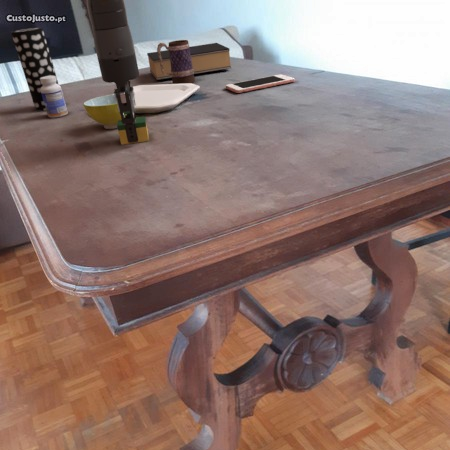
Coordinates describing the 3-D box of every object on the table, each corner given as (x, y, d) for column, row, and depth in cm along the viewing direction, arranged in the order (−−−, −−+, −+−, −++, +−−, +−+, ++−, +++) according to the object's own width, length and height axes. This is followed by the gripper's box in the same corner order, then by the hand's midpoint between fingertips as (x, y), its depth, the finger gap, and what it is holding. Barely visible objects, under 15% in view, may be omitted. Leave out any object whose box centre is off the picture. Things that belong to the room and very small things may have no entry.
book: (150, 73, 167) (146, 53, 163) (218, 63, 171) (216, 42, 167) (157, 82, 153) (153, 60, 149) (231, 70, 157) (229, 48, 153)
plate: (129, 93, 144) (127, 85, 143) (205, 90, 136) (204, 82, 135) (87, 116, 125) (84, 108, 124) (172, 115, 118) (170, 106, 116)
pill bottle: (49, 114, 132) (38, 76, 126) (69, 111, 132) (58, 73, 127) (47, 119, 127) (35, 80, 122) (67, 116, 128) (56, 77, 122)
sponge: (121, 144, 102) (116, 126, 100) (121, 138, 105) (117, 120, 103) (148, 140, 102) (145, 121, 100) (148, 134, 106) (144, 116, 104)
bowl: (109, 118, 121) (103, 93, 118) (146, 120, 116) (141, 93, 113) (80, 132, 113) (73, 105, 110) (119, 134, 108) (112, 106, 105)
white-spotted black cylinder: (32, 112, 136) (6, 33, 124) (40, 105, 143) (16, 29, 131) (60, 109, 136) (37, 29, 124) (67, 102, 143) (46, 26, 131)
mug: (192, 79, 151) (187, 37, 144) (197, 83, 146) (191, 39, 139) (161, 84, 150) (154, 42, 143) (164, 88, 144) (157, 44, 137)
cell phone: (295, 81, 133) (295, 78, 133) (237, 93, 129) (237, 90, 128) (280, 77, 140) (280, 73, 140) (225, 88, 136) (224, 84, 135)
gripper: (99, 50, 99) (117, 130, 109) (94, 61, 88) (115, 149, 97) (134, 46, 100) (149, 125, 109) (134, 56, 88) (151, 144, 98)
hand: (133, 136), depth 103 cm, fingers open, 7 cm apart
